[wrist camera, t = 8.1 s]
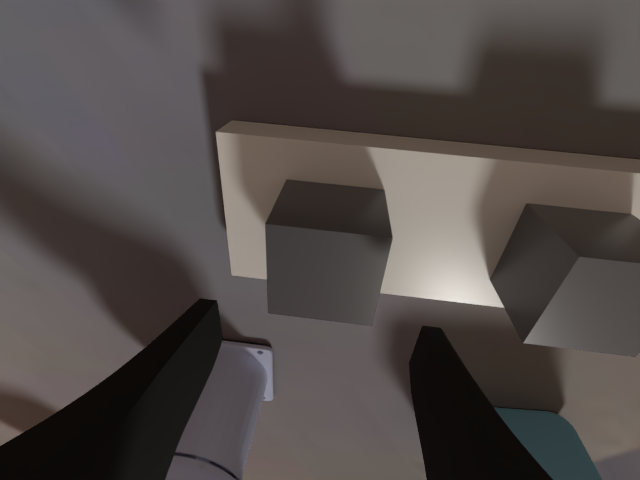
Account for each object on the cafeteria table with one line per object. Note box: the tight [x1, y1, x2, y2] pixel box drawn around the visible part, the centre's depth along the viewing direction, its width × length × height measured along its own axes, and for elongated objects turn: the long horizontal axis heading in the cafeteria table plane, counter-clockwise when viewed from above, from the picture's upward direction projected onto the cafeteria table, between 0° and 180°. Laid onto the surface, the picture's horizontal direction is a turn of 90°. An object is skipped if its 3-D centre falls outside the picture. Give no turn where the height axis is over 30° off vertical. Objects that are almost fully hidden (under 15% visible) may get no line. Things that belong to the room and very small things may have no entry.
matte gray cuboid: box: [265, 179, 393, 326], centre depth 17 cm, size 5×5×7 cm
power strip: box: [216, 120, 640, 357], centre depth 16 cm, size 28×9×7 cm, turn 86°
